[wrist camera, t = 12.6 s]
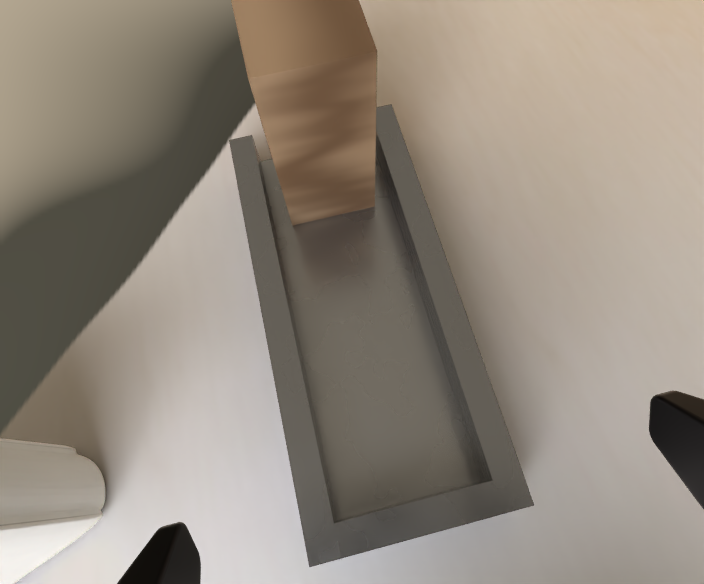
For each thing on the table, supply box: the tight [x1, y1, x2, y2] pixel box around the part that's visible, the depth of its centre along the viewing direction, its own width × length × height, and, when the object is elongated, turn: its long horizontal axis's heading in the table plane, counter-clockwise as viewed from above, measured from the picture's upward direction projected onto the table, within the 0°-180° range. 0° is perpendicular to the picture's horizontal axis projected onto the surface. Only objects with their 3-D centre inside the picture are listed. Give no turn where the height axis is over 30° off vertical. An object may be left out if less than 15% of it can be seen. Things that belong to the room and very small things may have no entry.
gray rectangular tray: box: [229, 105, 534, 567], centre depth 23 cm, size 20×9×3 cm, turn 14°
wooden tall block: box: [231, 0, 377, 226], centre depth 22 cm, size 4×5×10 cm
